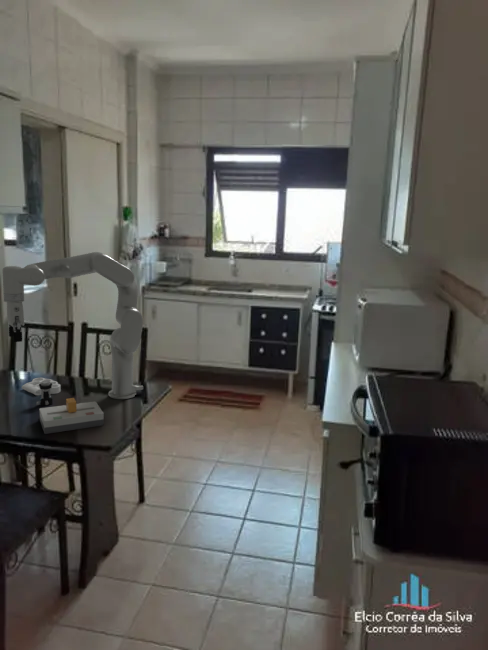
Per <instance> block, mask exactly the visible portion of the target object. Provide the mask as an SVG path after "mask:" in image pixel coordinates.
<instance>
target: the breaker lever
mask: <svg viewBox="0 0 488 650" xmlns="http://www.w3.org/2000/svg"><path fill="white" fill-rule="evenodd" d="M65 403H66V404H65V405H66V409H67V411H68V413H70V412H77V410H76V404H77V400H76V399H75V397H69V398H66V399H65Z"/></svg>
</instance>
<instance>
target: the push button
mask: <svg viewBox="0 0 488 650" xmlns="http://www.w3.org/2000/svg"><path fill="white" fill-rule="evenodd" d="M39 386H40V389H41V395H40V399H39V401H36V406H39V405H40V406H49V405H53V398H52V395H51V394H50V388H52V383H50V381H42V382H41V384H39ZM43 390H44V391H43Z"/></svg>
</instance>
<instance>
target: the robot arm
mask: <svg viewBox="0 0 488 650" xmlns="http://www.w3.org/2000/svg"><path fill="white" fill-rule="evenodd" d="M95 273H97V274H99V275H100V276H102V277H103V278H105V279H107V280H109V281H110V282H112V283H113V284H114V285H115V286H116V289H117V292H118V293H117V295H118V296H117V304H116V305H117V306H116V312H115V319H116V322H117V323H118V324H119V325H120V327H118V328H115V329H114V330H113V331H112V333H111V335H110V340H109V341H110V348H111V349H110V350H111V390H109V391H108V393H107V394H108V396H109V397H110V398H111V399H115V400H127V399H131V398H134V397H135V395H137V391H141V390H144V386H143V385H139V384H134V353H135V352H137V351H138V349H139V348H140V344H141V339H142V330H143V324H144V320H143V319H144V317H143V314H142V313H141V312H140V310H139V309H137V308H138V306H137V305H138V297H139V296H138V295H139V292H138V291H139V290H138V285H137V282H136V280H135V274H134V272H133V271H132V269H130V268H129V267H127V266H126V265H124V264H122V263H121V262H118V261H117V260H115V259H114V258H112V257H110V256H109V255H108V254H106V253H102V252H99V251H95V252H88V253H84V254H79V255H75V256H74V255H73V256H68V257H62V258H58V259H57V258H56V259H52V260H45V261H44V260H43V261H39V262H35V263H29V264H27V265H25V266H24V267H21V266H17V265H14V266H13V265H11V266H10V265H9V266H4V267H3V268H2V287H3V290H2V291H3V295H2V296H3V302H5V303H6V319H7V324H8V336H9V337H12V339H13V340H12V341H13V342H14V343H19V342H23V329H22V327H23V326H25V317H24V316H25V314H24V304H23V302H25V285H27V286H34V287H35V286H39V285H40V286H41V285H42V284H43V282H44V281H45V280H48V279H49V280H50V279H55V278H62V279H63V278H64V279H72V278H77V277H80V276H85V275H89V274H95Z"/></svg>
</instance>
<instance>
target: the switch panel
mask: <svg viewBox="0 0 488 650" xmlns="http://www.w3.org/2000/svg"><path fill="white" fill-rule="evenodd" d="M76 410H77V412H70V413H68V411H67V409H66V404H63V405H57V406H48V407H40V408H39V422H40V425H41V428H42V430H43V434H45V435H47V434H53V433H60V432H65V431H66V432H67V431H73V430H80V429H87V428H94V427H102V426H104V424H105V422H104V421H105V420H104V419H105V418H104V417H105V415H104V411H103V410H102V409H101V407H100V405H98V403H97V401H88V402H80V403H76Z"/></svg>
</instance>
